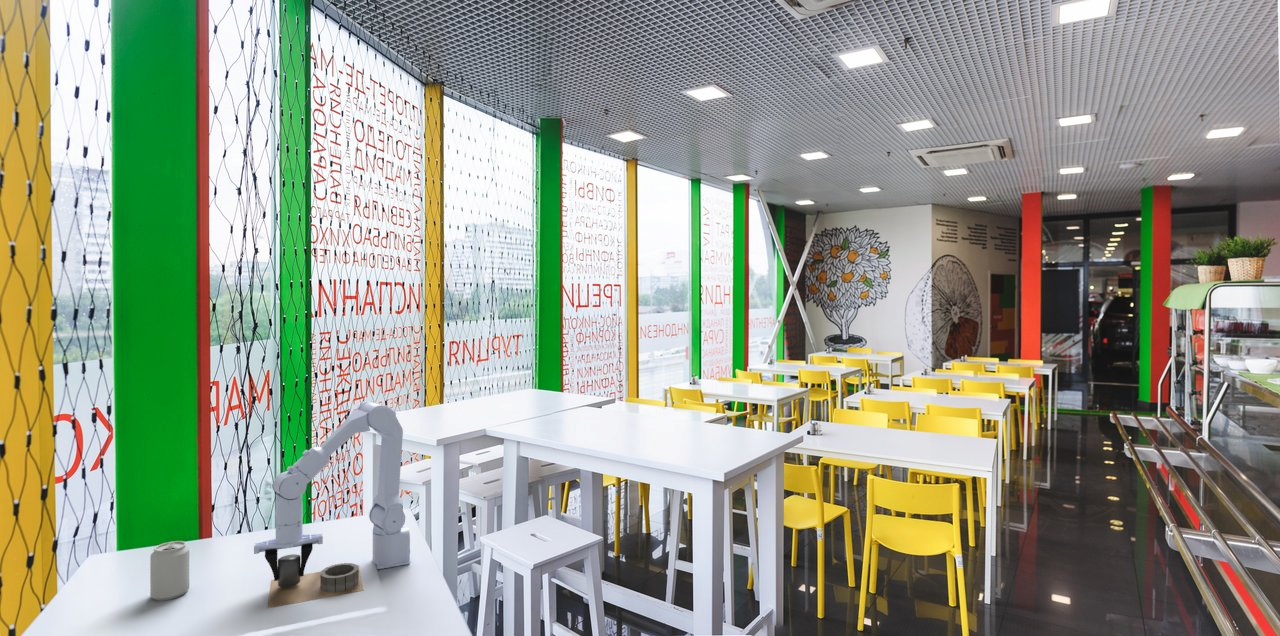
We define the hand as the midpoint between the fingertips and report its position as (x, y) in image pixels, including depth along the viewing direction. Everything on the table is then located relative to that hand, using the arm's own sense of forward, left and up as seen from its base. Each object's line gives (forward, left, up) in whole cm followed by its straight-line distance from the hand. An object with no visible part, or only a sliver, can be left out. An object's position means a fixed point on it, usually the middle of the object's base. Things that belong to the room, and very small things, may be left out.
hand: (289, 576), depth 151 cm
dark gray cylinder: (0, 0, -1) cm, 1 cm away
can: (+25, -10, -4) cm, 27 cm away
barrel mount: (-6, +2, -3) cm, 7 cm away
